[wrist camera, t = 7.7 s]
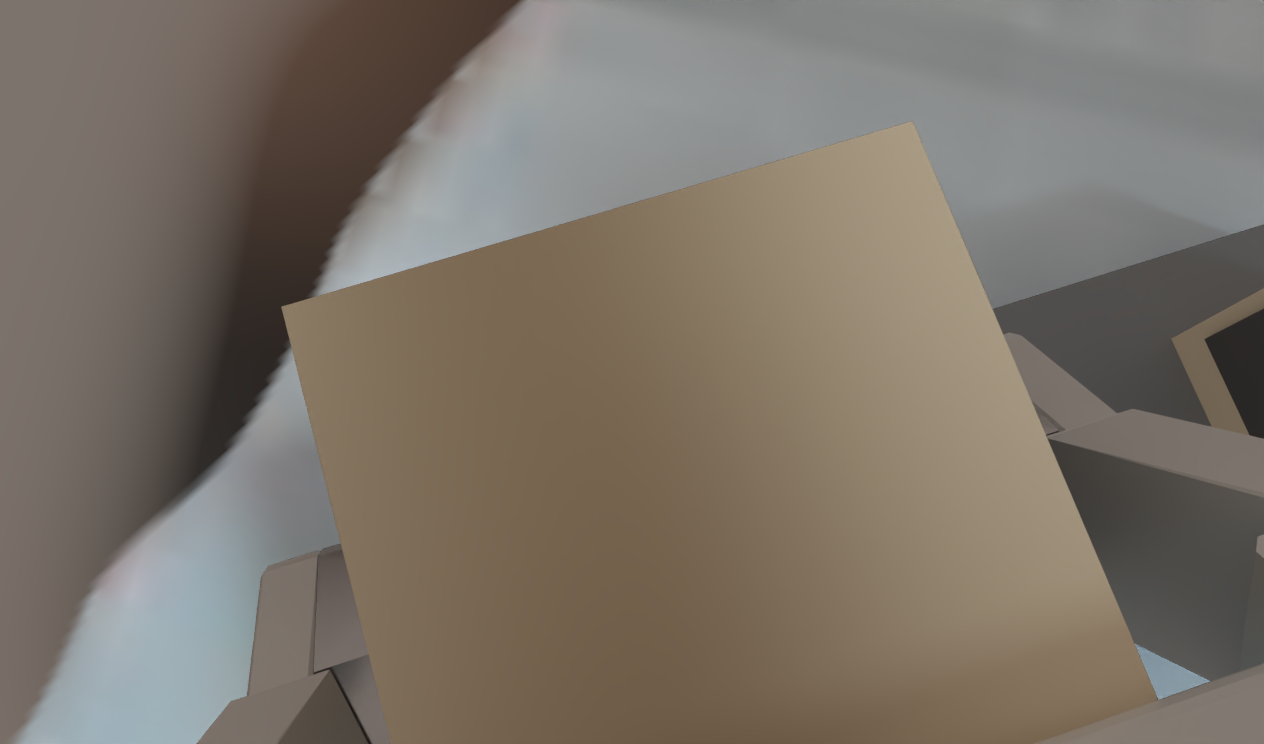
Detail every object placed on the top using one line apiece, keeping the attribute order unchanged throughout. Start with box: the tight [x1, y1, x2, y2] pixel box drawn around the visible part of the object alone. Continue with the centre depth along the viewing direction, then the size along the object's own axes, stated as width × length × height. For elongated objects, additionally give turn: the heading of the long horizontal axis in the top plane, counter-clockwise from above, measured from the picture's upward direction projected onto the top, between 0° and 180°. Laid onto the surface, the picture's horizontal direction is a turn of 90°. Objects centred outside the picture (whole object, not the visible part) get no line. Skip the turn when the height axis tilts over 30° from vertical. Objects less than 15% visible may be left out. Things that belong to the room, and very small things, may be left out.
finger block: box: [282, 121, 1158, 744], centre depth 10 cm, size 4×4×9 cm
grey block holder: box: [993, 225, 1264, 439], centre depth 21 cm, size 23×8×12 cm, turn 108°
